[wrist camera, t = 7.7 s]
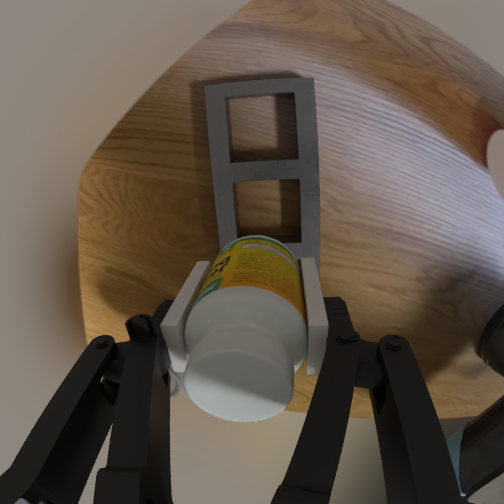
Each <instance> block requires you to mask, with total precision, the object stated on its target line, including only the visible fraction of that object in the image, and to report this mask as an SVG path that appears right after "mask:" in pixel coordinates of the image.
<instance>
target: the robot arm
mask: <svg viewBox="0 0 504 504" xmlns="http://www.w3.org/2000/svg"><path fill="white" fill-rule="evenodd" d="M210 270H211V267H210V261H197V263H196V265H195V266H194V268H193V270H192V271H191V273H190V275H189V276H188V278H187V280H186V281H185V283H184V285H183V287H182V288H181V290H180V292H179V293H178V295H177V297H176V299H175V300H166V301H165V302H163V303H162V304H161V305H159V307H158V308H157V310H156V312H155V313H154V315H153V317H151V316H150V315H147V314H140V315H135V316H133V317H131V318H129V319H128V320H127V321H126V323H125V325H126V328H127V331H128V334H129V337H130V341H126V342H119V343H115V340H114V338H113V337H112V336H109V335H102V336H98V337H96V338H95V339H93V340H92V341H91V342H90V343H89V345H88V346H87V348H86V349H85V350H84V352H83V353H82V355H81V356H80V357H79V359H78V360H77V362H76V363H75V365H74V366H73V367H72V369H71V370H70V372H69V373H68V375H67V376H66V378H65V379H64V381H63V382H62V384H61V385H60V387H59V388H58V390H57V391H56V393H55V394H54V396H53V397H52V399H51V400H50V402H49V403H48V405H47V406H46V408H45V410H44V411H43V413H42V414H41V416H40V418H39V419H38V421H37V422H36V424H35V426H34V427H33V429H32V430H31V432H30V434H29V435H28V437H27V439H26V441H25V442H24V444H23V446H22V448H21V449H20V451H19V453H18V454H17V456H16V458H15V460H14V461H13V463H12V465H11V467H10V468H9V469H8V470H6V471H5V472H4V473H3V474H2V475H1V476H0V504H78V502H79V500H80V497H81V495H82V492H83V489H84V487H85V485H86V483H87V480H88V477H89V475H90V473H91V470H92V468H93V466H94V464H95V461H96V459H97V457H98V454H99V452H100V450H101V447H102V445H103V443H104V441H105V438H106V436H107V434H108V432H109V429H110V427H111V425H112V423H113V425H112V431H111V437H110V444H109V451H108V459H107V465H106V467H105V468H101V469H99V470H98V472H97V476H96V483H95V491H94V501H93V504H173V501H172V495H171V471H170V384H171V376H170V373H169V367H170V365H171V364H172V367H173V370H174V372H184V371H185V368H186V365H187V362H188V358H189V353H188V351H187V348H186V344H185V326H186V322H187V319H188V315H189V313H190V311H191V309H192V307H193V305H194V303H195V301H196V299H197V297H198V294H199V293H200V290H201V289H202V286H203V284H204V282H205V281H206V279H207V276H208V274H209V272H210ZM301 281H302V290H303V298H304V306H305V314H306V322H307V332H308V347H307V352H306V365H307V375H313V374H319V376H318V380H317V383H316V387H315V390H314V393H313V397H312V400H311V403H310V406H309V409H308V413H307V416H306V419H305V422H304V425H303V428H302V431H301V434H300V437H299V439H298V442H297V445H296V448H295V451H294V453H293V456H292V459H291V462H290V464H289V467H288V470H287V472H286V475H285V477H284V480H283V482H282V484H281V485H280V486H279V487H278V488H277V490H276V493H275V495H274V497H273V499H272V501H271V504H328V503H329V500H330V496H331V490H332V487H333V483H334V480H335V476H336V472H337V468H338V464H339V460H340V456H341V452H342V447H343V443H344V438H345V434H346V429H347V424H348V419H349V414H350V408H351V403H352V397H353V391H354V386H355V387H362V388H368V389H369V393H370V398H371V403H372V408H373V413H374V419H375V424H376V429H377V435H378V441H379V447H380V453H381V460H382V466H383V473H384V480H385V488H386V497H387V504H463V503H462V498H461V496H465V495H466V496H467V500H468V501H469V502H472V503H476V504H504V395H503V396H502V397H501V398H499V399H498V400H497V401H496V402H495V403H494V404H492V405H491V406H490V407H489V408H487V409H486V410H485V411H484V412H482V413H481V414H480V415H478V416H477V417H476V418H474V419H473V420H472V421H470V422H468V423H466V424H465V425H464V427H463V428H462V429H460V430H459V431H458V432H456V433H455V434H454V435H452V436H451V437H450V438H449V440H448V442H447V443H446V440H445V437H444V434H443V431H442V428H441V425H440V422H439V419H438V416H437V413H436V410H435V408H434V405H433V402H432V399H431V397H430V394H429V391H428V389H427V386H426V384H425V381H424V379H423V376H422V374H421V371H420V369H419V366H418V364H417V361H416V359H415V357H414V354H413V352H412V349H411V347H410V345H409V343H408V342H407V340H406V339H404V338H403V337H401V336H397V335H388V336H384V337H383V338H381V340H380V341H379V343H374V342H368V341H365V340H362V339H360V335H359V334H358V333H357V332H355V331H354V329H353V326H352V322H351V319H350V316H349V313H348V309H347V306H346V303H345V301H343V300H342V299H341V298H340V297H324V298H323V296H322V291H321V287H320V282H319V277H318V273H317V269H316V264H315V260H314V258H301ZM480 355H481V357H482V359H483V360H484V362H485V363H486V365H487V366H488V367H489V368H491V369H493V370H494V371H496V372H497V373H498V374H500V375H501V376H503V377H504V305H503V306H502V307H501V308H500V309H499V310H498V311H497V313H496V314H495V315H494V316H493V318H492V319H491V321H490V322H489V324H488V325H487V327H486V329H485V331H484V333H483V336H482V338H481V342H480ZM102 377H103V380H102V381H101V378H102ZM100 381H101V382H100Z"/></svg>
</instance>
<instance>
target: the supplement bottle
mask: <svg viewBox="0 0 504 504" xmlns="http://www.w3.org/2000/svg"><path fill="white" fill-rule="evenodd" d="M185 344H186V348H187V351H188V353H189V358H188V362H187V365H186V368H185V371H184V376H183V384H184V388H185V391H186V393H187V395H188V396H189V398H190V399H191V400H192V401H193V402H194V403H195V404H196V405H197V406H198V407H199V408H201V409H202V410H204V411H206V412H207V413H209V414H212V415H214V416H216V417H219V418H221V419H225V420H230V421H237V422H254V421H261V420H264V419H268V418H270V417H273V416H275V415H277V414H278V413H280V412H281V411H283V410H284V409H285V408H286V407H287V405H288V404H289V403H290V401H291V399H292V396H293V390H294V373H295V372H296V371H297V369H298V368H299V367H300V365H301V364H302V362H303V360H304V358H305V355H306V352H307V347H308V332H307V322H306V314H305V306H304V298H303V290H302V281H301V274H300V269H299V265H298V263H297V260H296V258H295V257H294V255H293V254H292V252H291V251H290V250H289V249H288V248H287V247H286V246H285V245H284V244H282V243H281V242H279V241H277V240H275V239H273V238H270V237H267V236H262V235H252V236H245V237H242V238H238V239H236V240H234V241H232V242H231V243H229V244H228V245H226V246H225V247H224V248H223V249H222V250H221V252H220V253H219V254H218V256H217V258H216V260H215V262H214V264H213V266H212V268H211V270H210V272H209V274H208V276H207V279H206V281H205V282H204V284H203V286H202V289H201V290H200V293H199V294H198V297H197V299H196V301H195V303H194V305H193V307H192V309H191V311H190V313H189V315H188V319H187V322H186V326H185Z"/></svg>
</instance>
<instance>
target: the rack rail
mask: <svg viewBox="0 0 504 504" xmlns="http://www.w3.org/2000/svg"><path fill="white" fill-rule="evenodd" d="M204 90H205V103H206V114H207V126H208V137H209V148H210V158H211V168H212V178H213V188H214V197H215V207H216V216H217V225H218V233H219V242H220V250H222V249H223V248H224V247H225V246H226V245H228V244H229V243H231V242H232V241H234V240H236V239H238V238H242V237H241V236H240V225H239V214H238V203H237V192H236V182H241V181H258V180H279V179H299V200H300V235H291V236H267V237H270V238H273V239H275V240H277V241H279V242H281V243H282V244H284V245H285V246H286V247H287V248H288V249H289V250H290V251H291V252H292V254H293V255H294V257H295V258H296V260H301V258H314V260H315V264H316V269H317V273H318V277H319V275H320V187H319V156H318V135H317V118H316V103H315V90H314V78H283V79H265V80H251V81H240V82H231V83H222V84H214V85H207V86H204ZM279 95H294V107H295V121H296V137H297V154H298V157H293V158H270V159H253V160H238V161H234V158H233V146H232V134H231V122H230V110H229V99H238V98H249V97H262V96H279Z"/></svg>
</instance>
